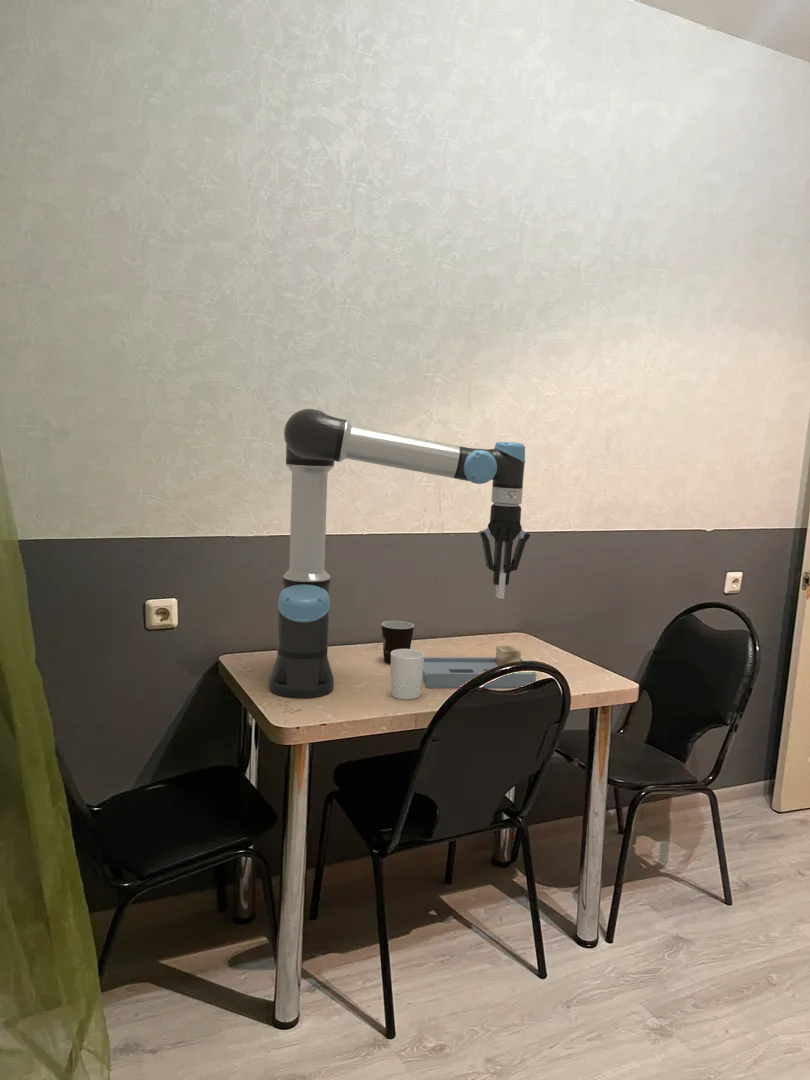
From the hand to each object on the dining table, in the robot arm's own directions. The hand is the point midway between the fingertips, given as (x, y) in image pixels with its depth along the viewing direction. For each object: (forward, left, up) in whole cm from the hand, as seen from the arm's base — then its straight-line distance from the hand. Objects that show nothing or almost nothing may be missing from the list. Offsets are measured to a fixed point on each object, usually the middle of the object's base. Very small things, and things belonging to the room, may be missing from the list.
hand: (499, 597), depth 204 cm
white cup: (-25, -15, -21) cm, 36 cm away
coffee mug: (-23, +13, -21) cm, 34 cm away
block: (+3, 0, -18) cm, 18 cm away
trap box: (-6, -3, -20) cm, 21 cm away
